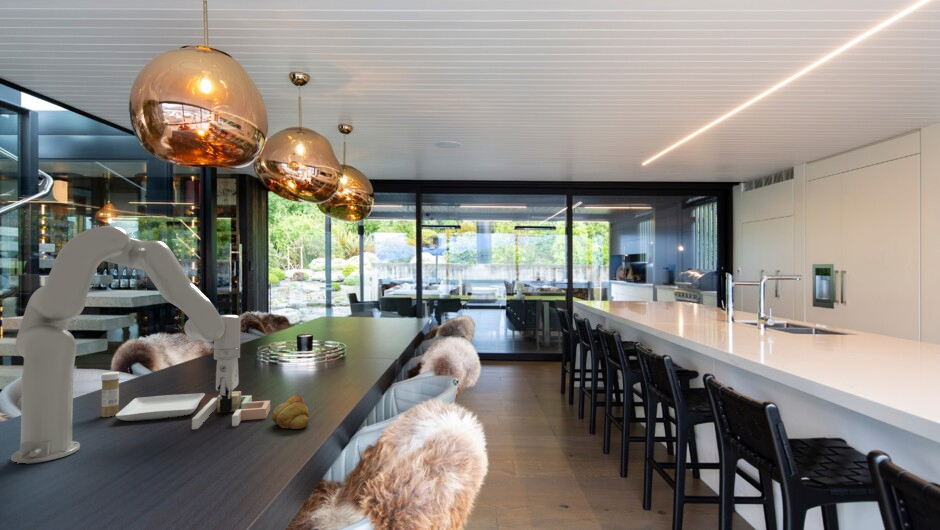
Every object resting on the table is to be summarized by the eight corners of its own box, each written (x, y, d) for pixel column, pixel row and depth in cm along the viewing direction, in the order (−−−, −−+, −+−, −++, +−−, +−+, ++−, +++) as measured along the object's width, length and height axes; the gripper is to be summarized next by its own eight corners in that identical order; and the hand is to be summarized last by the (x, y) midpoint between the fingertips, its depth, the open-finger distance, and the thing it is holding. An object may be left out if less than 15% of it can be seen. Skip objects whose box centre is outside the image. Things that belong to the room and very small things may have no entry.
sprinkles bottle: (118, 412, 152) (119, 370, 153) (119, 415, 149) (120, 373, 149) (100, 415, 149) (101, 372, 150) (100, 418, 146) (101, 374, 146)
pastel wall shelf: (263, 423, 141) (263, 413, 141) (191, 429, 135) (192, 418, 136) (273, 402, 164) (273, 393, 164) (213, 406, 159) (213, 397, 159)
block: (237, 410, 154) (237, 395, 154) (217, 412, 153) (217, 396, 153) (241, 406, 160) (241, 391, 160) (221, 407, 158) (221, 392, 158)
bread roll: (315, 428, 137) (315, 400, 137) (280, 435, 131) (280, 406, 131) (301, 417, 147) (301, 392, 147) (268, 423, 141) (268, 396, 141)
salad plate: (195, 418, 147) (195, 407, 147) (113, 426, 139) (113, 414, 140) (205, 401, 167) (205, 391, 167) (134, 407, 159) (134, 397, 159)
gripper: (234, 356, 145) (233, 416, 145) (244, 349, 160) (243, 404, 159) (207, 357, 143) (206, 418, 143) (219, 350, 158) (218, 405, 157)
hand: (225, 410), depth 151 cm, fingers closed
